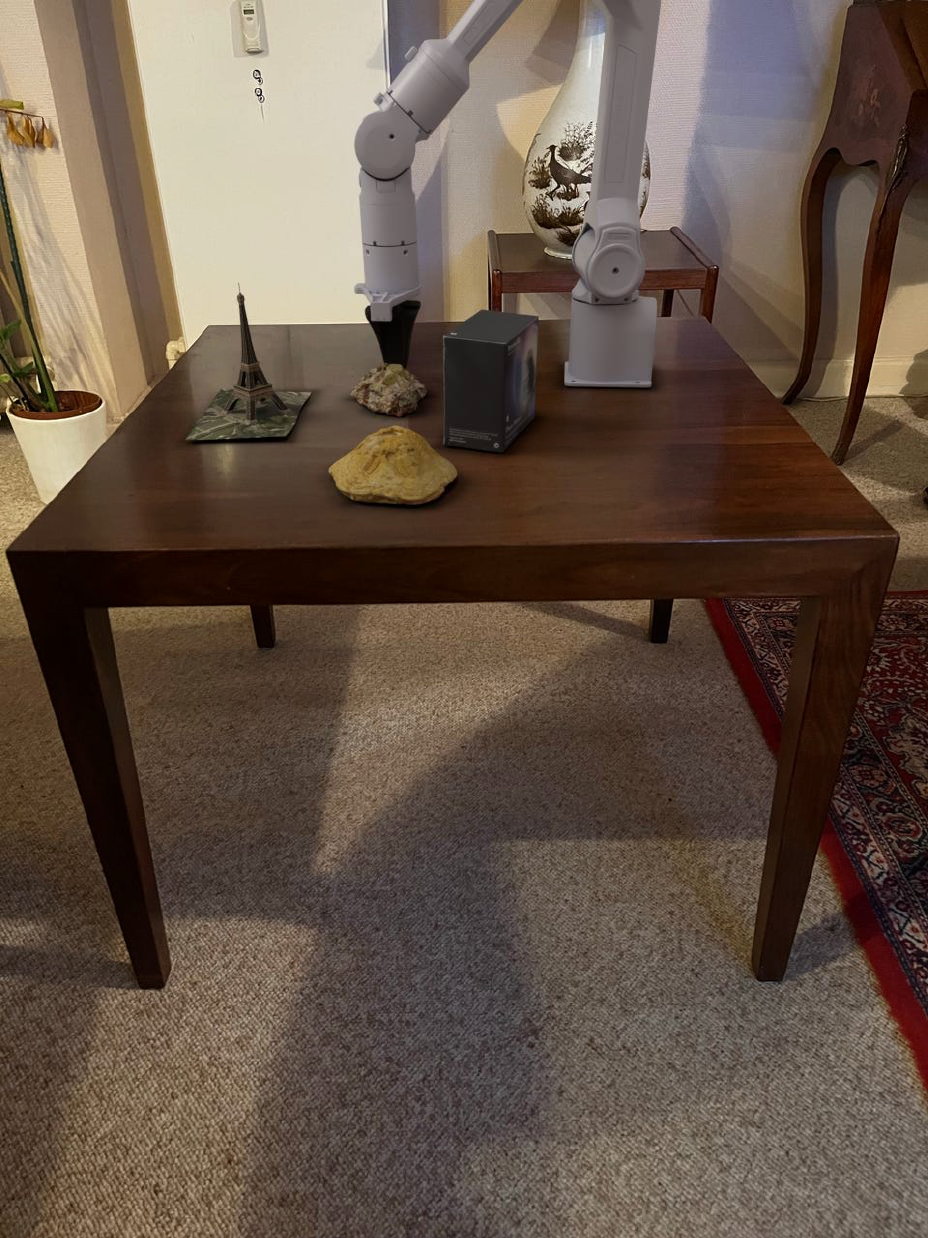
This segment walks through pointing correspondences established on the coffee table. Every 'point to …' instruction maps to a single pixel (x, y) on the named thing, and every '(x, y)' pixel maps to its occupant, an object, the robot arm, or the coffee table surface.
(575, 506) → the coffee table surface
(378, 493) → the fossil
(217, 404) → the eiffel tower figurine
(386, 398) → the mineral rock
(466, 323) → the small box
